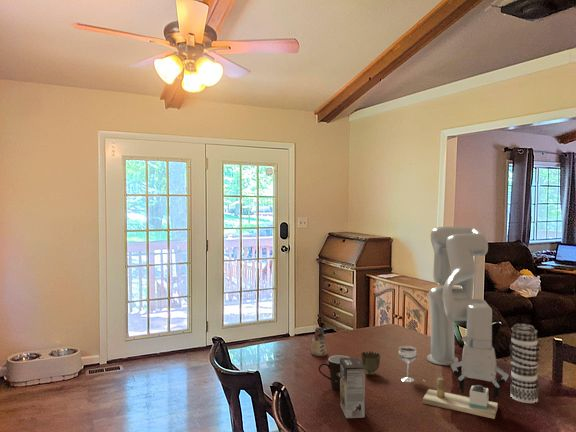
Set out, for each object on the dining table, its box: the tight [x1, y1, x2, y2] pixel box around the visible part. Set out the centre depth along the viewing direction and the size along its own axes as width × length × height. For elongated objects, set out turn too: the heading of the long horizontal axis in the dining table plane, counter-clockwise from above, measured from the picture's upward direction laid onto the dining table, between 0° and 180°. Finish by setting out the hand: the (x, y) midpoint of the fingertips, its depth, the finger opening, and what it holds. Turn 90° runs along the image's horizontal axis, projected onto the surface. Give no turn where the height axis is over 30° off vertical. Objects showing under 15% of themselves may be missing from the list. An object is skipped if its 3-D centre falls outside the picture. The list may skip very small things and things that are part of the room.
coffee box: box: [339, 357, 366, 419], centre depth 142 cm, size 9×6×16 cm
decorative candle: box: [508, 323, 541, 404], centre depth 151 cm, size 9×9×25 cm
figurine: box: [310, 326, 328, 357], centre depth 198 cm, size 7×7×12 cm
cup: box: [360, 351, 381, 377], centre depth 173 cm, size 8×7×8 cm
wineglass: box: [398, 345, 418, 383], centre depth 168 cm, size 7×7×12 cm
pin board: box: [422, 377, 499, 420], centre depth 146 cm, size 9×22×8 cm, turn 59°
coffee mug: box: [318, 355, 351, 391], centre depth 162 cm, size 12×9×10 cm
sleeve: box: [469, 385, 489, 410], centre depth 142 cm, size 5×5×5 cm
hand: (479, 394), depth 143 cm, fingers open, 9 cm apart
